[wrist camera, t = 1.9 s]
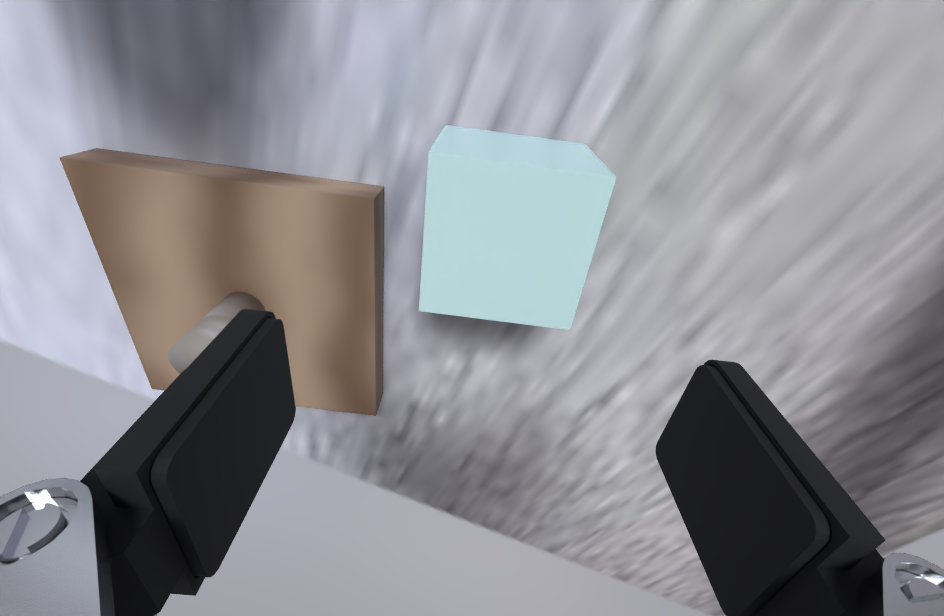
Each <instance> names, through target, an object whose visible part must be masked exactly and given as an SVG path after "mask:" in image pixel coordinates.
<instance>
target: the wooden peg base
mask: <svg viewBox="0 0 944 616" xmlns="http://www.w3.org/2000/svg"><path fill="white" fill-rule="evenodd" d="M60 160H61V162H62V165H63V167H64V170H65V172H66V175H67V177H68V180H69V182H70V185H71V187H72V190H73V192H74V195H75V197H76V200H77V202H78V205H79V207H80V210H81V212H82V215H83V217H84V220H85V222H86V225H87V227H88V230H89V232H90V235H91V237H92V240H93V242H94V245H95V248H96V250H97V253H98V255H99V258H100V260H101V263H102V265H103V268H104V270H105V273H106V275H107V278H108V280H109V283H110V285H111V288H112V290H113V293H114V295H115V298H116V300H117V303H118V305H119V308H120V310H121V313H122V315H123V318H124V320H125V323H126V325H127V328H128V330H129V333H130V335H131V338H132V340H133V343H134V345H135V348H136V350H137V353H138V355H139V358H140V360H141V363H142V365H143V368H144V370H145V373H146V375H147V378H148V380H149V383H150V385H151V388H152V389H157V390H166V389H167V388H168V387H169V385H170V384H171V383H172V382H173V381H174V380H175V379H176V378H177V377H178V376H179V375H180V374H181V373H182V372H183V371H184V370H185V369H186V368H187V367H188V366H189V365H190V364H191V363H192V362H193V361H194V360H195V359H196V358H197V357H198V356H199V354H200V353H201V352H202V351H203V350H204V349H205V348H206V347H207V346H208V345H209V344H210V343H211V342H212V341H213V339H214V338H215V337H216V336H217V335H218V334H219V333H220V332H221V331H222V330H223V329H224V328H225V327H226V325H227V324H228V323H229V322H230V321H231V320H232V319H233V318H234V317H235V316H236V315H237V314H238V313H239V312H240V311H241V310H242V309H253V310H262V311H271V312H273V313H274V315H275V317H276V319H280V320H282V322H283V325H284V332H285V338H286V345H287V352H288V359H289V366H290V372H291V379H292V386H293V393H294V400H295V406H299V407H308V408H316V409H324V410H333V411H341V412H349V413H358V414H366V415H374V416H376V413H377V410H378V407H379V403H380V400H381V397H382V394H383V269H384V187H383V186H375V185H368V184H360V183H353V182H345V181H338V180H330V179H323V178H315V177H308V176H300V175H292V174H285V173H277V172H270V171H262V170H255V169H247V168H240V167H232V166H225V165H217V164H210V163H202V162H195V161H187V160H180V159H172V158H165V157H157V156H150V155H142V154H135V153H127V152H120V151H112V150H105V149H97V148H96V149H92V150H88V151H84V152H80V153H76V154H72V155H68V156H64V157H60Z"/></svg>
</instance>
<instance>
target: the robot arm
mask: <svg viewBox="0 0 944 616" xmlns="http://www.w3.org/2000/svg"><path fill="white" fill-rule="evenodd" d="M295 411H296V407H295V400H294V393H293V386H292V379H291V372H290V366H289V359H288V352H287V345H286V338H285V332H284V325H283V322H282V320H280V319H276V317H275V315H274V313H273V312H271V311H262V310H253V309H242V310H241V311H240V312H239V313H238V314H237V315H236V316H235V317H234V318H233V319H232V320H231V321H230V322H229V323H228V324H227V325H226V327H225V328H224V329H223V330H222V331H221V332H220V333H219V334H218V335H217V336H216V337H215V338H214V339H213V341H212V342H211V343H210V344H209V345H208V346H207V347H206V348H205V349H204V350H203V351H202V352H201V353H200V354H199V356H198V357H197V358H196V359H195V360H194V361H193V362H192V363H191V364H190V365H189V366H188V367H187V368H186V369H185V370H184V371H183V372H182V373H181V374H180V375H179V376H178V377H177V378H176V379H175V380H174V381H173V382H172V383H171V384H170V385H169V387H168V388H167V389H166V390H165V391H164V392H163V393H162V394H161V395H160V396H159V397H158V398H157V399H156V400H155V402H154V403H153V404H152V405H151V406H150V407H149V408H148V409H147V410H146V411H145V412H144V414H142V415H141V417H140V418H139V419H138V420H137V421H136V422H135V423H134V424H133V425H132V426H131V427H130V428H129V429H128V430H127V432H126V433H125V434H124V435H123V436H122V437H121V438H120V439H119V440H118V441H117V442H116V443H115V445H113V447H112V448H111V449H110V450H109V451H108V452H107V453H106V454H105V455H104V456H103V457H102V458H101V460H99V462H98V463H97V464H96V465H95V466H94V467H93V468H92V469H91V470H90V471H89V472H88V473H87V474H86V475H85V477H84V478H83V479H82V480H81V481H78V480H73V479H68V478H58V479H46V480H42V481H39V482H35V483H32V484H28V485H25V486H22V487H20V488H18V489H16V490H14V491H11V492H9V493H7V494H4V495H2V496H1V497H0V616H157V613H159V612H160V611H161V609H162V607H163V606H164V604H165V602H166V600H167V599H168V597H169V595H170V594H183V595H196V594H197V592H198V590H199V588H200V586H201V584H202V582H203V580H204V579H205V577H212V576H213V575H214V574H215V573H216V571H217V570H218V569H219V567H220V565H221V563H222V561H223V559H224V557H225V555H226V553H227V551H228V549H229V547H230V545H231V543H232V541H233V539H234V538H235V536H236V534H237V532H238V530H239V528H240V526H241V524H242V522H243V520H244V518H245V516H246V514H247V512H248V510H249V507H250V506H251V504H252V502H253V500H254V498H255V496H256V494H257V492H258V490H259V488H260V486H261V484H262V482H263V480H264V478H265V477H266V474H267V472H268V471H269V469H270V467H271V465H272V463H273V461H274V459H275V457H276V455H277V453H278V451H279V449H280V447H281V445H282V443H283V441H284V439H285V437H286V435H287V433H288V431H289V429H290V427H291V425H292V423H293V421H294V417H295ZM656 457H657V460H658V462H659V465H660V467H661V469H662V472H663V474H664V476H665V479H666V481H667V483H668V486H669V488H670V490H671V493H672V495H673V497H674V500H675V502H676V504H677V507H678V509H679V511H680V513H681V516H682V518H683V520H684V523H685V525H686V527H687V530H688V532H689V534H690V537H691V539H692V541H693V544H694V546H695V548H696V551H697V553H698V555H699V558H700V560H701V562H702V565H703V567H704V569H705V572H706V574H707V576H708V579H709V581H710V583H711V586H712V588H713V590H714V593H715V595H716V597H717V599H718V602H719V604H720V606H721V608H722V610H723V612H724V613H725V614H726V616H944V570H943V569H941V568H940V567H938V566H937V565H935V564H933V563H930V562H928V561H926V560H924V559H922V558H920V557H917V556H913V555H909V554H906V553H892V554H890V555H888V556H887V557H885V558H884V559H883V558H882V557H881V555H880V554H879V553H878V552H877V550H876V548H877V547H878V546H879V545H880V544H882V543H883V542H884V541H885V539H884V538H883V537H882V535H881V534H880V533H879V532H878V531H877V529H876V528H875V527H874V526H873V524H872V523H871V522H870V521H869V520H868V518H867V517H866V516H865V515H864V514H863V512H862V511H861V510H860V509H859V508H858V506H857V505H856V504H855V503H854V501H853V500H852V499H851V498H850V497H849V495H848V494H847V493H846V492H845V491H844V489H843V488H842V487H841V486H840V485H839V483H838V482H837V481H836V480H835V478H834V477H833V476H832V475H831V474H830V472H829V471H828V470H827V469H826V468H825V466H824V465H823V464H822V463H821V462H820V460H819V459H818V458H817V457H816V455H815V454H814V453H813V452H812V451H811V449H810V448H809V447H808V446H807V445H806V443H805V442H804V441H803V440H802V438H801V437H800V436H799V435H798V434H797V432H796V431H795V430H794V429H793V428H792V426H791V425H790V424H789V423H788V422H787V420H786V419H785V418H784V417H783V415H782V414H781V413H780V412H779V411H778V409H777V408H776V407H775V406H774V405H773V403H772V402H771V401H770V400H769V399H768V397H767V396H766V395H765V394H764V392H763V391H762V390H761V389H760V388H759V386H758V385H757V384H756V383H755V382H754V380H753V379H752V378H751V377H750V376H749V374H748V373H747V372H746V371H745V369H744V368H743V367H742V366H741V365H740V364H738V363H735V362H727V361H718V360H708V361H707V362H705V364H704V365H701V366H699V367H698V368H697V369H696V370H695V372H694V374H693V376H692V378H691V380H690V382H689V384H688V385H687V387H686V389H685V391H684V393H683V395H682V397H681V399H680V401H679V402H678V404H677V406H676V408H675V410H674V412H673V414H672V416H671V418H670V419H669V421H668V423H667V425H666V427H665V429H664V431H663V433H662V435H661V436H660V438H659V440H658V442H657V445H656Z"/></svg>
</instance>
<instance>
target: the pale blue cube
mask: <svg viewBox="0 0 944 616" xmlns="http://www.w3.org/2000/svg"><path fill="white" fill-rule="evenodd" d="M615 180H616V176H615V175H614V174H613V173H612V172H611V171H610V170H609V169H608V168H607V167H606V166H605V165H604V163H603V162H602V161H601V160H600V159H599V158H598V157H597V156H596V155H595V154H594V153H593V152H592V151H591V150H590V149H589V148H588V147H587V145H586V144H583V143H576V142H568V141H561V140H554V139H546V138H539V137H532V136H525V135H517V134H510V133H503V132H495V131H488V130H481V129H474V128H466V127H459V126H452V125H445V127H444V128H443V130H442V132H441V133H440V135H439V136H438V138H437V139H436V141H435V142H434V144H433V145H432V147H431V149H430V150H429V152H428V168H427V185H426V201H425V218H424V234H423V251H422V267H421V284H420V300H419V311H422V312H430V313H438V314H446V315H454V316H462V317H470V318H478V319H486V320H494V321H502V322H510V323H518V324H525V325H533V326H541V327H549V328H557V329H565V330H570V329H571V325H572V322H573V319H574V315H575V312H576V309H577V306H578V302H579V299H580V296H581V292H582V289H583V286H584V282H585V279H586V276H587V273H588V269H589V266H590V263H591V259H592V256H593V253H594V249H595V246H596V243H597V240H598V236H599V233H600V230H601V226H602V223H603V220H604V216H605V213H606V210H607V207H608V203H609V200H610V197H611V193H612V190H613V187H614V183H615Z"/></svg>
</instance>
